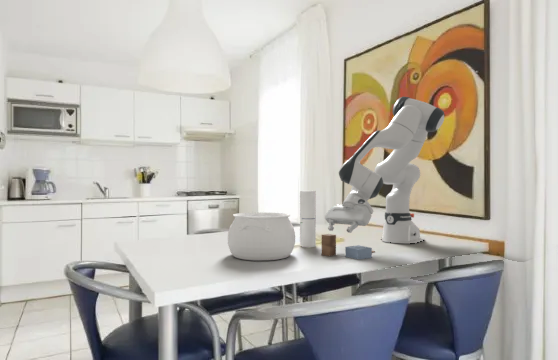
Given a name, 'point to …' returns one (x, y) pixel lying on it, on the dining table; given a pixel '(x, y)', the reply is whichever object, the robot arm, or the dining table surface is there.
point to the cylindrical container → (308, 218)
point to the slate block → (358, 252)
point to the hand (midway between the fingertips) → (339, 230)
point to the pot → (261, 236)
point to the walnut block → (328, 244)
